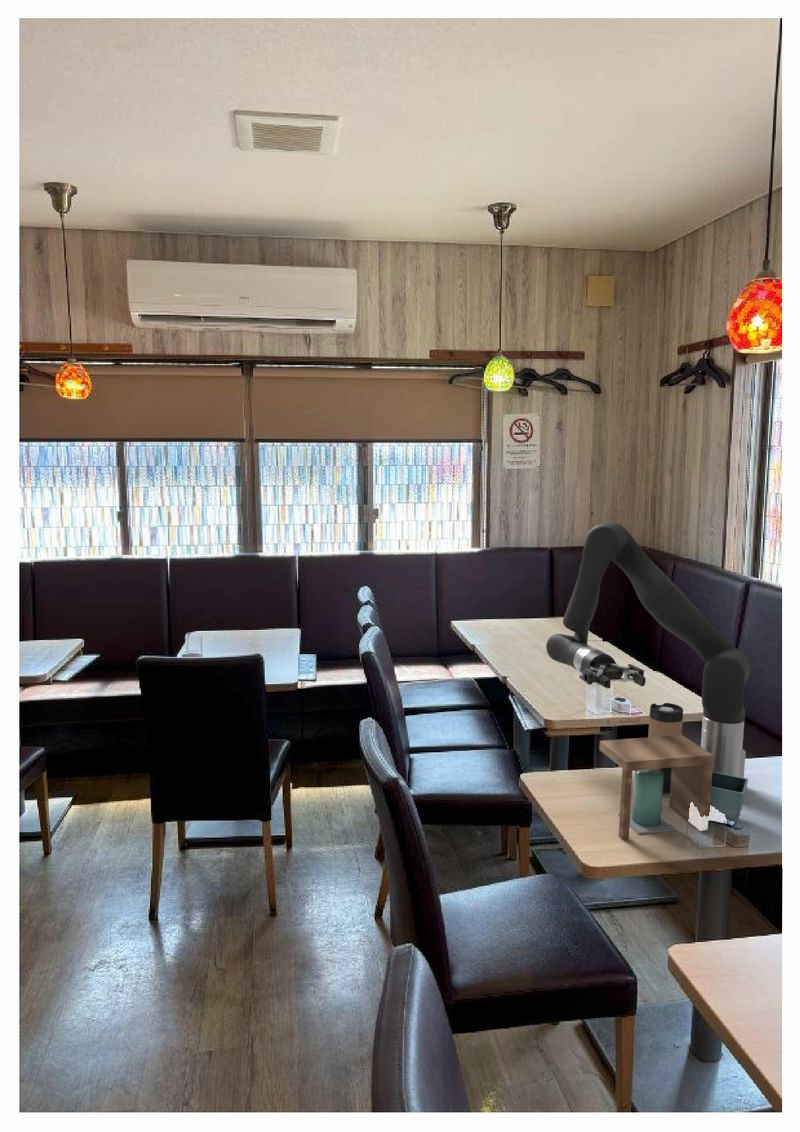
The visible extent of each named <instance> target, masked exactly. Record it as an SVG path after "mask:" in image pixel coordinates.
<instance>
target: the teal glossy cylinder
mask: <svg viewBox="0 0 800 1132" xmlns="http://www.w3.org/2000/svg"><path fill="white" fill-rule="evenodd" d="M663 779H664V773H663V772H662V771H661V770H659V769H648V770H636V771H634V778H633V794H632V795H633V796H632V811H631V812H632V820H633V821H634V822H635V823H637V824H640V825H643V826H658V825H660V824H661V816H662V810H663V795H664V793H663Z"/></svg>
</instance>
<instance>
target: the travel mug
mask: <svg viewBox="0 0 800 1132" xmlns="http://www.w3.org/2000/svg"><path fill="white" fill-rule="evenodd" d="M649 708H650V709H649V720H648V734H647V735H648V736H647V737H660V736H673V735H683V724H684V723H683V722H684V721H683V719H684V717H683V716H684V708H683V706H680V705H678V704H674V703H670V702H665V703H663V704H656V703H652V704H650V706H649ZM659 770H661V771H662V772H663V773H664V779H663V794H670V787H671V771H672V768H660V769H659Z"/></svg>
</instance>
